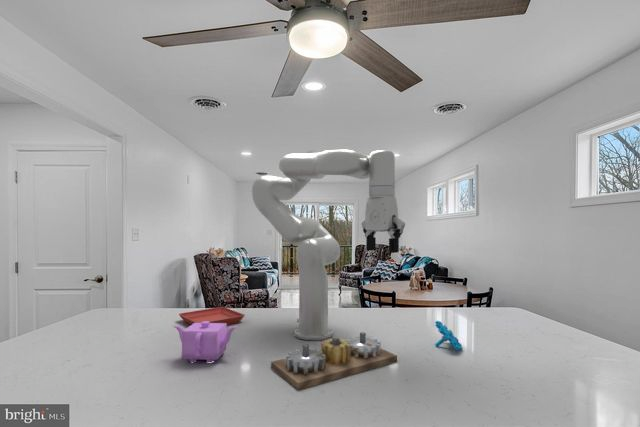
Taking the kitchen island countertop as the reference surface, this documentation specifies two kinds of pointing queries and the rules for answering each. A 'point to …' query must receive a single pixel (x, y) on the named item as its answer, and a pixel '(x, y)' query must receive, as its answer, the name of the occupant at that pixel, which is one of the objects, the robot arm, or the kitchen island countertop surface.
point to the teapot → (204, 340)
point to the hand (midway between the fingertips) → (382, 251)
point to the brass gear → (336, 351)
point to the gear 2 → (364, 346)
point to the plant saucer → (212, 316)
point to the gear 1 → (305, 360)
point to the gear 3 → (447, 336)
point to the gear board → (332, 368)
